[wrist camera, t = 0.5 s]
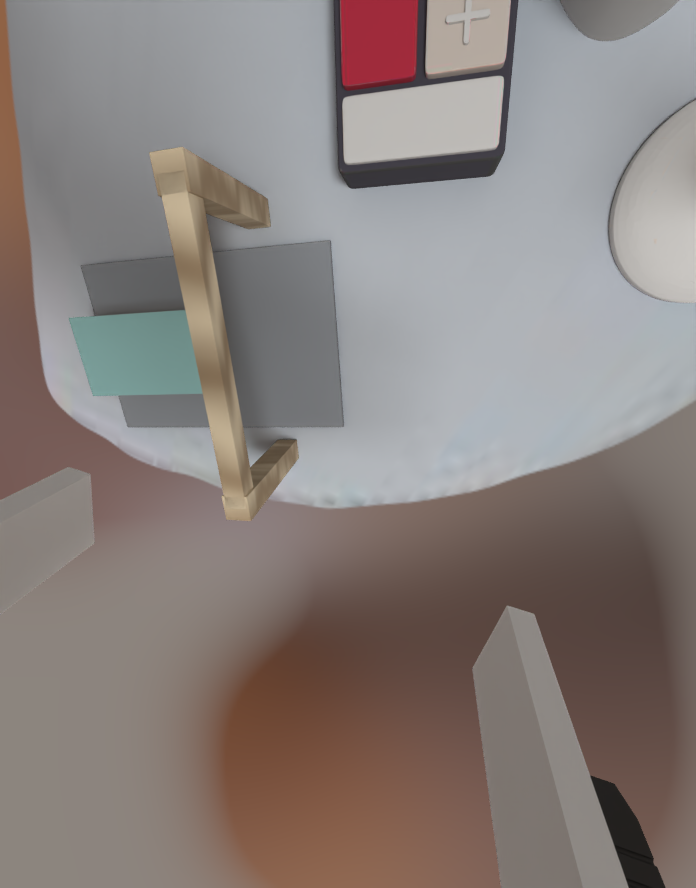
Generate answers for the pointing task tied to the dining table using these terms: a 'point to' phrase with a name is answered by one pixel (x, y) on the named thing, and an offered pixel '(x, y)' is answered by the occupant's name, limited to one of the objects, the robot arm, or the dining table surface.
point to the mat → (244, 333)
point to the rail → (216, 317)
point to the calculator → (422, 88)
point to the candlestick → (659, 213)
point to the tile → (137, 353)
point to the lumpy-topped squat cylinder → (614, 16)
